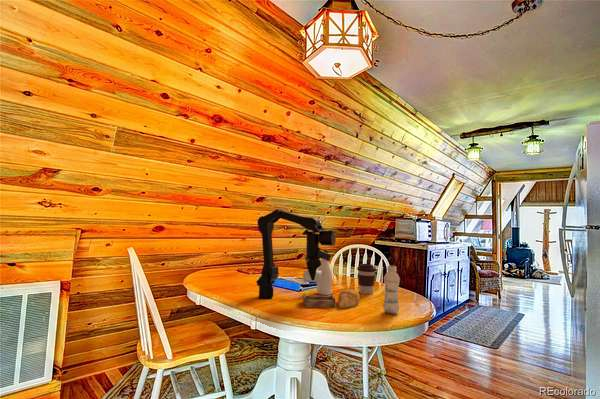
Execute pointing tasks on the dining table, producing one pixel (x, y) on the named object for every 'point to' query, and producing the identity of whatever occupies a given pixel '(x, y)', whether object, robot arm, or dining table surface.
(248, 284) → the dining table surface
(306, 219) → the robot arm
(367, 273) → the coffee cup
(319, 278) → the roll
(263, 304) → the dining table surface
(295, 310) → the dining table surface
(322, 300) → the tray
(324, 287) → the milk bottle
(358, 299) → the croissant
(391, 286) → the plastic bottle
